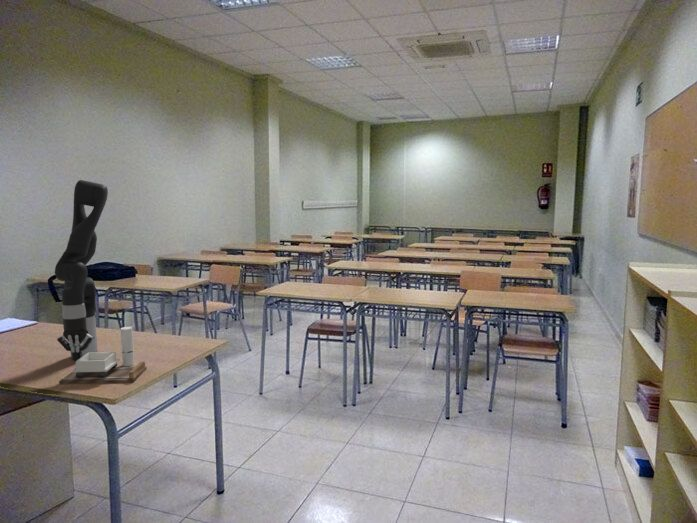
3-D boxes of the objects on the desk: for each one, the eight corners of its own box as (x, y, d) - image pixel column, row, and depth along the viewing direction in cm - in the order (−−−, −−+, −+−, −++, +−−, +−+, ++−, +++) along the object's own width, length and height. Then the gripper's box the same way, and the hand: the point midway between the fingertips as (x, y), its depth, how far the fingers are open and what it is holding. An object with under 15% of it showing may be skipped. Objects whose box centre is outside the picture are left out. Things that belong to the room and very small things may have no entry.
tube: (124, 362, 201) (122, 326, 199) (135, 362, 202) (133, 326, 200) (121, 366, 197) (118, 329, 195) (132, 366, 197) (130, 329, 195)
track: (59, 384, 178) (58, 374, 178) (77, 370, 192) (77, 362, 192) (133, 382, 180) (133, 373, 180) (146, 369, 194) (146, 360, 194)
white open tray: (73, 378, 180) (71, 362, 179) (87, 367, 191) (86, 351, 191) (107, 378, 180) (106, 361, 180) (120, 366, 192) (119, 351, 191)
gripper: (50, 318, 178) (53, 365, 181) (88, 318, 179) (91, 364, 181) (61, 313, 186) (64, 358, 188) (97, 313, 187) (100, 357, 189)
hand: (77, 361), depth 185 cm, fingers closed
